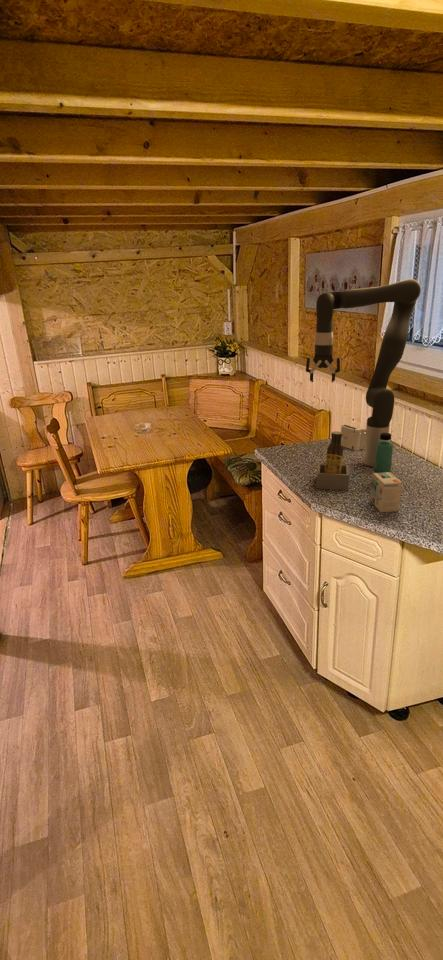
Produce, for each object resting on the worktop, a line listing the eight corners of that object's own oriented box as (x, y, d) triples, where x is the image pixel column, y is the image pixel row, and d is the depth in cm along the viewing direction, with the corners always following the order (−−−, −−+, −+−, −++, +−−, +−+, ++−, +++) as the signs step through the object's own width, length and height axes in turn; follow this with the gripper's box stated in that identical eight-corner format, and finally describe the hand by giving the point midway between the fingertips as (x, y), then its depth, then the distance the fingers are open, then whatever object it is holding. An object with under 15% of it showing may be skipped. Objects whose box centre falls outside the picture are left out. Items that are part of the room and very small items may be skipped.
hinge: (368, 450, 240) (370, 429, 237) (362, 452, 237) (363, 431, 233) (343, 444, 250) (344, 424, 246) (336, 446, 246) (338, 426, 243)
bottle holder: (347, 478, 206) (348, 464, 204) (348, 489, 195) (349, 475, 193) (317, 477, 208) (317, 463, 206) (316, 488, 197) (317, 473, 195)
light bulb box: (369, 500, 186) (372, 472, 182) (387, 499, 186) (390, 471, 182) (380, 512, 176) (383, 483, 172) (399, 511, 176) (402, 482, 172)
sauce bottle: (322, 482, 200) (325, 433, 193) (325, 477, 205) (328, 429, 198) (339, 484, 198) (342, 435, 190) (342, 479, 203) (345, 430, 196)
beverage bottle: (390, 480, 204) (395, 431, 196) (389, 486, 198) (394, 436, 191) (373, 478, 206) (377, 430, 198) (372, 484, 200) (376, 435, 193)
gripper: (341, 342, 216) (339, 380, 222) (307, 342, 219) (305, 380, 225) (341, 344, 209) (339, 383, 215) (306, 344, 212) (305, 383, 218)
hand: (322, 382), depth 220 cm, fingers open, 8 cm apart
